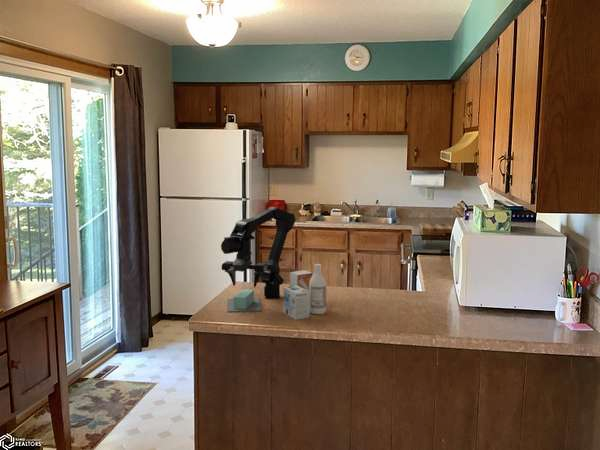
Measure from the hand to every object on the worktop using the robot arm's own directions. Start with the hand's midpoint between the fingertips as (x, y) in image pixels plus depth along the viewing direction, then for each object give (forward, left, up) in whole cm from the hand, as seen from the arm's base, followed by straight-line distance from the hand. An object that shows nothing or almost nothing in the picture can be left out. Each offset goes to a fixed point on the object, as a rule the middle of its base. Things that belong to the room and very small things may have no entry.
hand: (244, 286), depth 232 cm
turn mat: (0, +1, -8) cm, 8 cm away
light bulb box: (-21, +16, -8) cm, 27 cm away
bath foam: (-30, +13, -8) cm, 33 cm away
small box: (-25, -3, -8) cm, 26 cm away
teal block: (-2, -4, -5) cm, 7 cm away
